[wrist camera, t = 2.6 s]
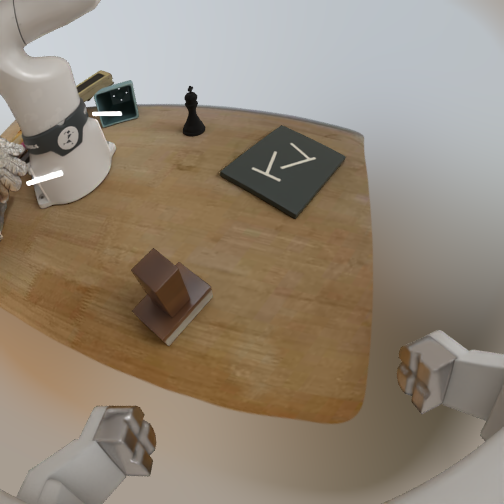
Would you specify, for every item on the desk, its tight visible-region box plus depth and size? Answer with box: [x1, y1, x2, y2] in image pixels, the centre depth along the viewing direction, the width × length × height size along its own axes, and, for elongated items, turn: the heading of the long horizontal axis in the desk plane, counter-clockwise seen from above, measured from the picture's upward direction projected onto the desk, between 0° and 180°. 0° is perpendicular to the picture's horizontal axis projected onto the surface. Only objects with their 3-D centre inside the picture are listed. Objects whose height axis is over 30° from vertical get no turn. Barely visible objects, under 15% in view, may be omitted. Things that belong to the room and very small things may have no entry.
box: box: [76, 71, 114, 102], centre depth 53 cm, size 8×22×5 cm, turn 138°
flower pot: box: [94, 80, 139, 127], centre depth 51 cm, size 9×9×9 cm
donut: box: [10, 130, 27, 159], centre depth 43 cm, size 14×13×5 cm
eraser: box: [131, 248, 213, 346], centre depth 28 cm, size 5×8×10 cm, turn 144°
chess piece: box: [183, 86, 205, 136], centre depth 46 cm, size 4×4×10 cm
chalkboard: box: [220, 125, 346, 219], centre depth 45 cm, size 14×18×1 cm
